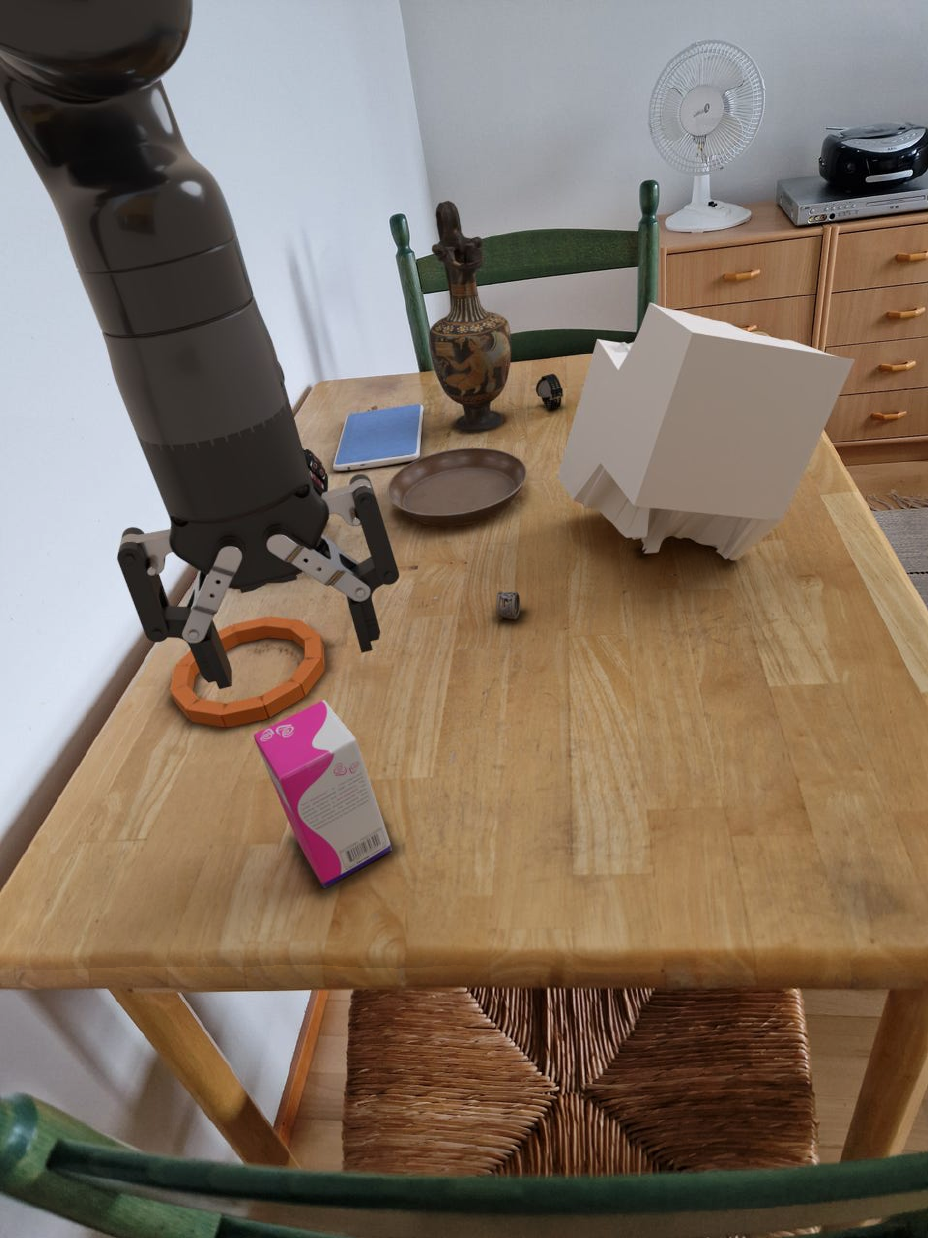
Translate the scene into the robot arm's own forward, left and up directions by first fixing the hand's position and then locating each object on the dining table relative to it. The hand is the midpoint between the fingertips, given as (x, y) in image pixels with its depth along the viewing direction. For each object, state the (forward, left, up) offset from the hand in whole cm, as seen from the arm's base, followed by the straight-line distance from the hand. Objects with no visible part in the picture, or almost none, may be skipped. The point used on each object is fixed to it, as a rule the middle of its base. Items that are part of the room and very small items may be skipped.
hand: (296, 661), depth 50 cm
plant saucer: (+41, +39, -20) cm, 60 cm away
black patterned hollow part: (+21, +45, -20) cm, 53 cm away
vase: (+59, +56, -20) cm, 83 cm away
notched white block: (+50, +11, -20) cm, 55 cm away
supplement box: (0, +3, -20) cm, 20 cm away
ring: (+5, +28, -19) cm, 34 cm away
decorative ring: (+28, +15, -20) cm, 37 cm away
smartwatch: (+68, +50, -20) cm, 86 cm away
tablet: (+46, +64, -20) cm, 81 cm away
